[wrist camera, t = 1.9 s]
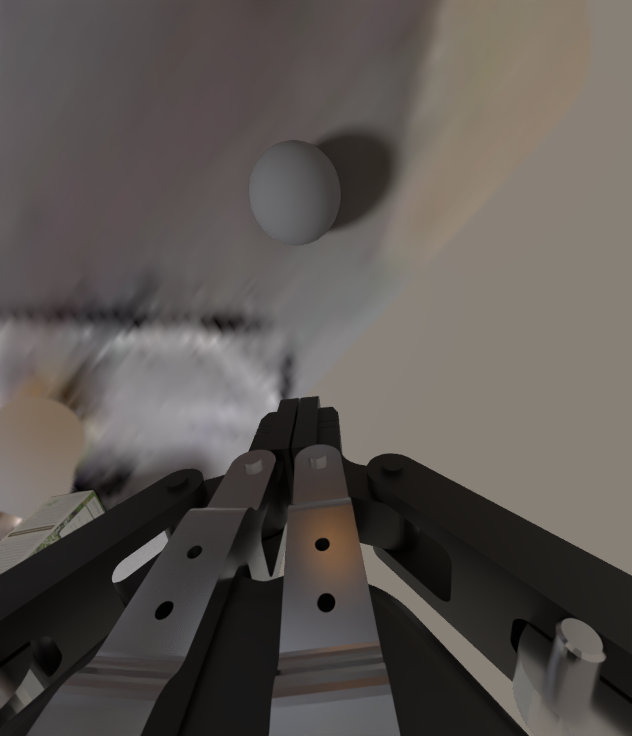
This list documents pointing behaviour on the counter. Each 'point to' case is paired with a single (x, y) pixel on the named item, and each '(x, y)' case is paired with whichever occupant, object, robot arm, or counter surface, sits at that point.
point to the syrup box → (48, 526)
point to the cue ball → (294, 192)
